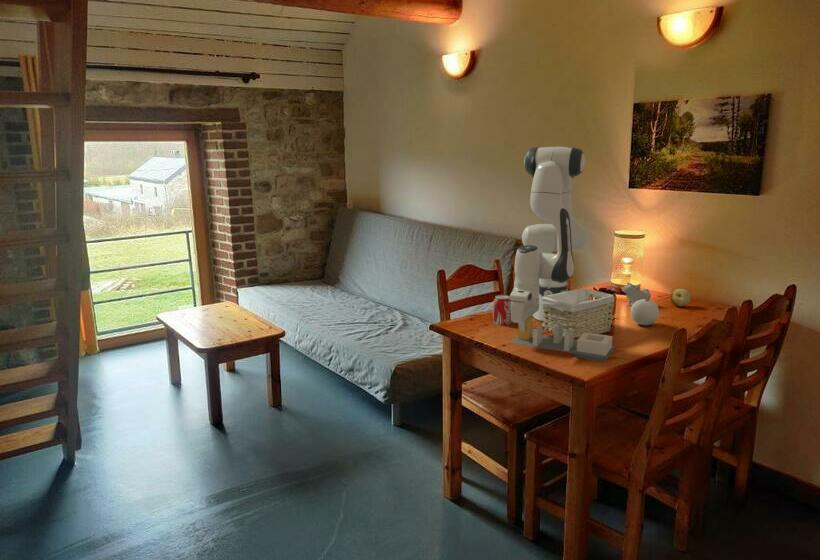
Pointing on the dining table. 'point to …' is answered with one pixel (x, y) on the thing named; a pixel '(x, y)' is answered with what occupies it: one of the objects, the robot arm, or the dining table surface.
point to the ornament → (644, 312)
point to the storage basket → (578, 311)
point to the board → (571, 343)
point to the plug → (529, 329)
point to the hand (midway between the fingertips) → (525, 328)
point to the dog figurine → (635, 293)
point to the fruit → (680, 297)
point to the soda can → (502, 310)
